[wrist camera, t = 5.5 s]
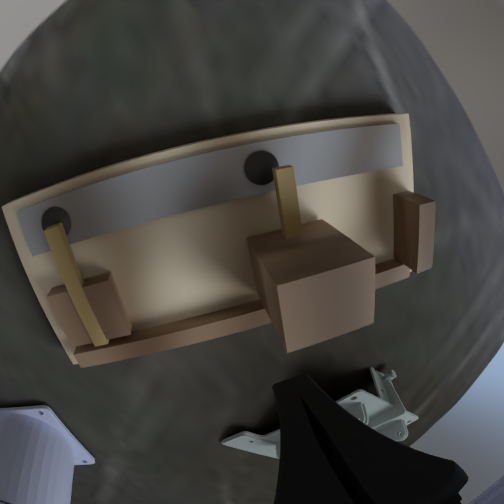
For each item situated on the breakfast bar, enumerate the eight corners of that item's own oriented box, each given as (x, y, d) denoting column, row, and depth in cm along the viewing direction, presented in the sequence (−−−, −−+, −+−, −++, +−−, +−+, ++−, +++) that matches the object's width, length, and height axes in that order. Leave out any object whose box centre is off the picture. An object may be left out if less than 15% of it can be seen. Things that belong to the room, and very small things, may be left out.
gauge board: (77, 352, 18) (65, 391, 14) (11, 200, 13) (-22, 220, 10) (401, 264, 21) (434, 287, 17) (396, 113, 16) (437, 115, 13)
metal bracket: (361, 400, 17) (439, 432, 23) (341, 328, 22) (421, 384, 28) (211, 464, 22) (321, 483, 29) (213, 407, 27) (315, 440, 33)
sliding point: (257, 293, 17) (287, 353, 13) (233, 173, 14) (262, 196, 10) (327, 273, 18) (373, 322, 13) (315, 157, 15) (371, 174, 11)
